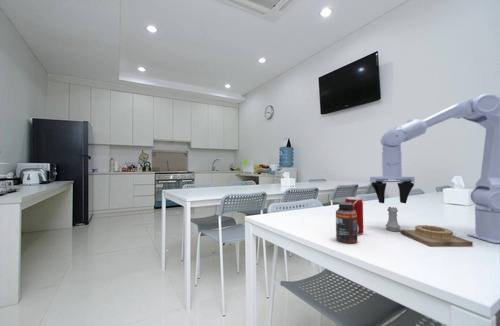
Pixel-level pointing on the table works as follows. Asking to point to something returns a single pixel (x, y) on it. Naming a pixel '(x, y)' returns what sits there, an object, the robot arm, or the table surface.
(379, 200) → the robot arm
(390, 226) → the rook chess piece
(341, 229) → the supplement bottle
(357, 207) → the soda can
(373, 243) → the table surface
